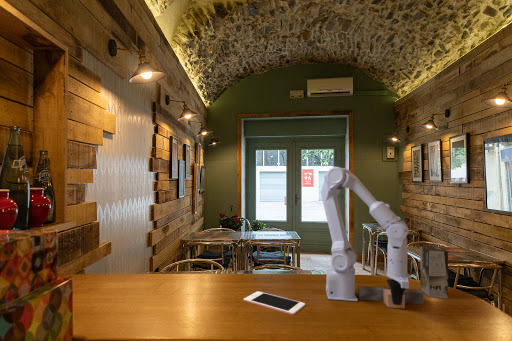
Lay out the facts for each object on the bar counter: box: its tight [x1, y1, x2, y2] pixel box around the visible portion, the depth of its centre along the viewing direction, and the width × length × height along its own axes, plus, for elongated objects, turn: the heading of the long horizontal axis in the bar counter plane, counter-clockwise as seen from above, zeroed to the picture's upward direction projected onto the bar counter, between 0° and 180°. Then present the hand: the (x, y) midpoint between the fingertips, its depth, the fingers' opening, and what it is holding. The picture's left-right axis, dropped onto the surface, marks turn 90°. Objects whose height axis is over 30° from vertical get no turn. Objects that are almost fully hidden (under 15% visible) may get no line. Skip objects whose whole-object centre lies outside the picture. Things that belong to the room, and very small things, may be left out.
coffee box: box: [419, 245, 449, 299], centre depth 109 cm, size 9×6×16 cm
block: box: [382, 289, 406, 309], centre depth 97 cm, size 5×5×4 cm
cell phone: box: [243, 290, 306, 316], centre depth 96 cm, size 9×18×1 cm, turn 57°
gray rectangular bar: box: [357, 285, 424, 305], centre depth 101 cm, size 20×3×4 cm, turn 83°
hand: (396, 304), depth 94 cm, fingers closed
